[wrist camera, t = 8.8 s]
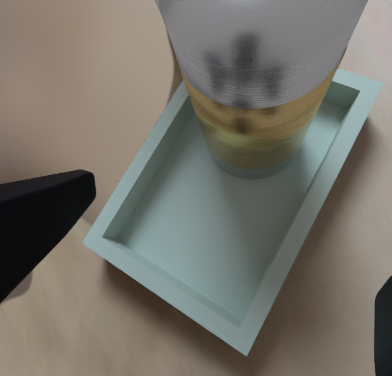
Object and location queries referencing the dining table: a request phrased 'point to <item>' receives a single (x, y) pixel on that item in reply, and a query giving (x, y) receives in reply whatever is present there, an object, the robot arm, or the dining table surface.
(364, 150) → the dining table surface
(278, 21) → the tin can
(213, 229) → the pale green tray
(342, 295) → the dining table surface
